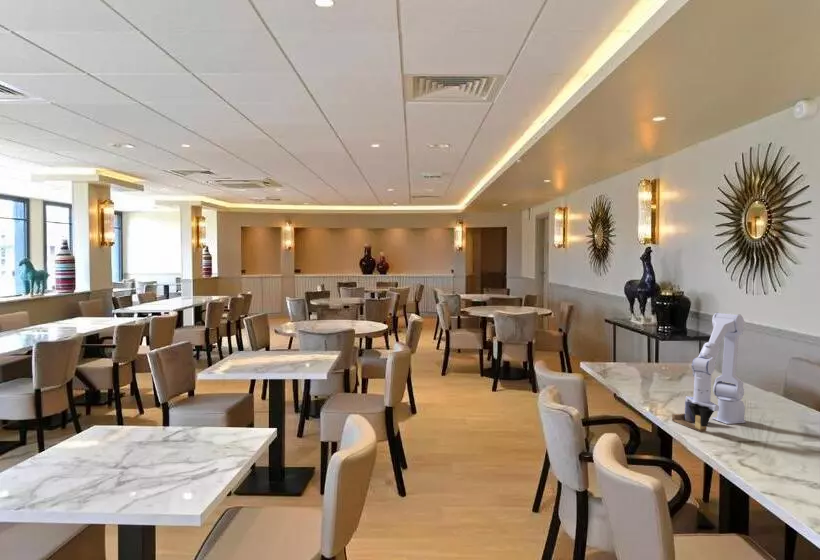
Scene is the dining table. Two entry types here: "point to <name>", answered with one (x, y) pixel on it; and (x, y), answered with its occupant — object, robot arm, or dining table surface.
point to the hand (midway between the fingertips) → (701, 424)
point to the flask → (688, 413)
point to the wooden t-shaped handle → (680, 419)
